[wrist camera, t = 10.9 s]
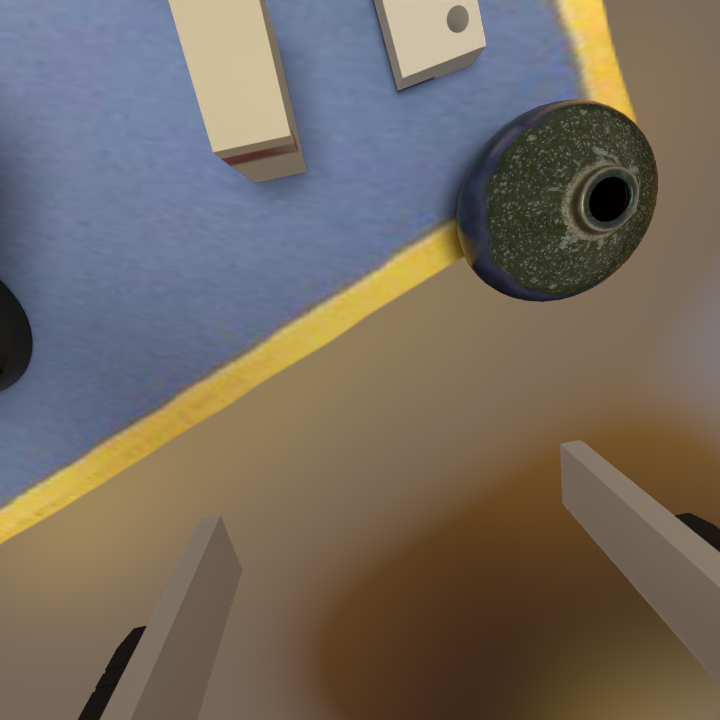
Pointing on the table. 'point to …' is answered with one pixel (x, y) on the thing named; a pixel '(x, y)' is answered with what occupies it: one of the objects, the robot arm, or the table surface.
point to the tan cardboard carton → (240, 85)
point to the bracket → (429, 37)
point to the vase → (557, 200)
